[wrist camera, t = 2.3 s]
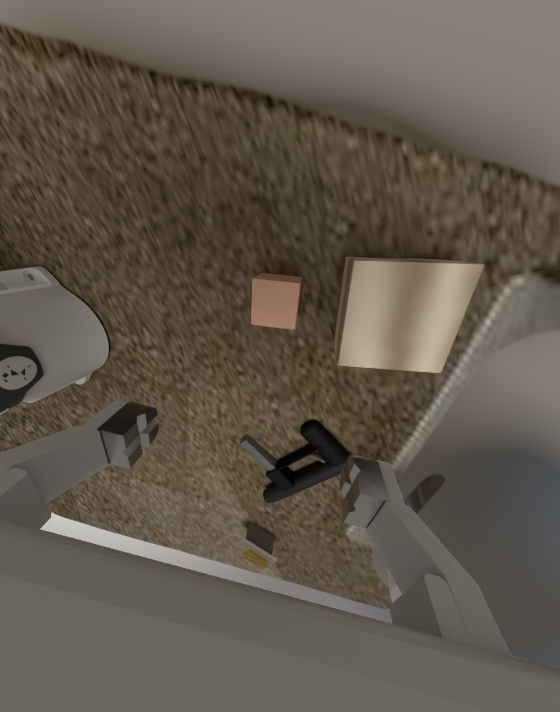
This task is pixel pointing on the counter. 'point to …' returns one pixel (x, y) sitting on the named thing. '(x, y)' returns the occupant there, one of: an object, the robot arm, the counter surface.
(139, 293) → the counter surface
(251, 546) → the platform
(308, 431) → the black clamp
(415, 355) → the birch box
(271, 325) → the terracotta block
